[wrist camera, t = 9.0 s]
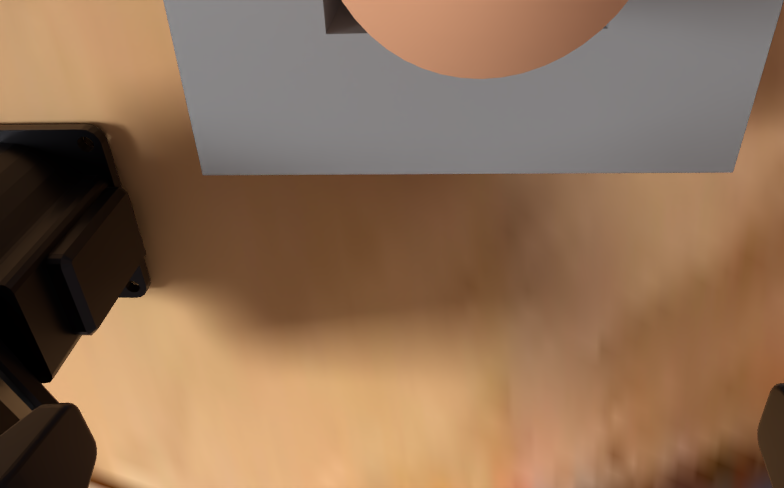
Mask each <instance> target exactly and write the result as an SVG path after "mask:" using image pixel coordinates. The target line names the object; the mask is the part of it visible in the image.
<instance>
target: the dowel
mask: <svg viewBox="0 0 784 488" xmlns="http://www.w3.org/2000/svg"><path fill="white" fill-rule="evenodd" d="M627 1H628V0H342V2H343V3H344V5H345V6H346V7H347V9H348V10H349V12H350V13H351V14H352V16H353V17H354V19H355V20H356V21H357V22H358V23H359V24H360V25H361V26H362V27H363V28H364V29H365V30H366V32H367V33H368V34H369V35H370V36H371V37H373V38H374V39H375V40H376V41H378V42H379V43H380V44H381V45H382V46H384V47H385V48H386V49H387V50H389V51H391V52H392V53H394V54H395V55H397V56H399V57H400V58H402V59H403V60H405V61H407V62H410V63H412V64H414V65H416V66H418V67H420V68H423V69H426V70H429V71H432V72H435V73H438V74H442V75H447V76H453V77H459V78H471V79H488V78H501V77H507V76H512V75H517V74H521V73H525V72H528V71H531V70H534V69H537V68H540V67H543V66H545V65H547V64H549V63H552V62H554V61H556V60H558V59H560V58H562V57H564V56H566V55H567V54H569V53H570V52H572V51H574V50H575V49H577V48H578V47H580V46H582V45H583V44H584V43H586V42H587V41H588V40H589V39H591V38H592V37H593V36H594V35H596V34H597V33H598V32H599V31H601V30H602V29H603V28H604V27H605V26H606V25H607V24H608V23H609V22H610V21H611V20H612V19H613V18H614V17H615V16H616V15H617V14H618V13H619V11H620V10H621V9H622V8H623V6H624V5H625V4H626V3H627Z"/></svg>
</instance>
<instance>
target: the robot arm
mask: <svg viewBox="0 0 784 488" xmlns="http://www.w3.org/2000/svg"><path fill="white" fill-rule="evenodd" d="M83 137H87V138H89V139H90V140H91V141H92V142H93V144H94V146H89V145H88V144H87V143H85V141H84V139H83ZM145 255H146V252H145V248H144V245H143V242H142V238H141V235H140V232H139V228H138V225H137V222H136V219H135V215H134V212H133V209H132V205H131V202H130V199H129V196H128V193H127V192H126V191H125V190H124V189H123V188H122V186H121V183H120V179H119V176H118V173H117V170H116V166H115V163H114V160H113V157H112V153H111V150H110V147H109V144H108V140H107V138H106V136H105V134H104V133H103V132H102V131H101V130H100V129H99V128H98V127H96V126H94V125H90V124H37V125H0V488H88V487H89V483H90V479H91V476H92V472H93V469H94V465H95V461H96V456H97V447H96V442H95V440H94V438H93V436H92V434H91V432H90V430H89V428H88V426H87V424H86V422H85V420H84V418H83V416H82V414H81V412H80V410H79V409H78V407H77V406H75V405H74V404H72V403H59V402H58V401H57V400H56V399H55V398H54V397H53V396H52V394H51V393H50V392H49V391H48V390H47V389H46V388H45V387H44V386H43V385H42V384H41V383H48V382H51V380H52V379H53V378H54V376H55V375H56V373H57V372H58V370H59V369H60V367H61V366H62V364H63V363H64V361H65V360H66V358H67V357H68V355H69V354H70V352H71V351H72V349H73V348H74V346H75V345H76V343H77V342H78V340H79V339H80V337H81V336H82V335H92V334H93V333H94V332H95V331H96V330H97V329H98V328H99V327H100V325H101V323H102V322H103V320H104V319H105V317H106V316H107V314H108V313H109V311H110V309H111V308H112V306H113V305H114V303H115V302H116V300H117V299H118V297H129V298H136V297H141V296H143V295H145V293H146V291H147V290H148V288H149V286H150V284H151V282H150V277H149V274H148V270H147V267H146V264H145V261H144V257H145ZM131 281H134V282H136V283H138V285H135V284H133V283H132V282H131ZM757 435H758V443H759V447H760V450H761V453H762V457H763V460H764V463H765V466H766V469H767V472H768V475H769V478H770V481H771V484H772V487H773V488H784V383H780V384H776V385H775V386H774V387H773V388H772V389H771V391H770V394H769V397H768V400H767V402H766V405H765V408H764V411H763V414H762V417H761V420H760V423H759V426H758V433H757Z"/></svg>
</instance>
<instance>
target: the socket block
mask: <svg viewBox="0 0 784 488" xmlns="http://www.w3.org/2000/svg"><path fill="white" fill-rule="evenodd" d="M163 1H164V5H165V10H166V14H167V18H168V23H169V27H170V32H171V36H172V41H173V45H174V50H175V54H176V58H177V63H178V67H179V72H180V76H181V81H182V85H183V90H184V94H185V99H186V103H187V107H188V112H189V116H190V121H191V125H192V130H193V134H194V139H195V143H196V147H197V152H198V156H199V161H200V165H201V170H202V174H203V175H346V174H531V173H715V172H733V170H734V167H735V164H736V160H737V157H738V153H739V150H740V147H741V143H742V140H743V136H744V133H745V130H746V126H747V123H748V120H749V116H750V113H751V109H752V106H753V103H754V99H755V96H756V92H757V89H758V86H759V82H760V79H761V75H762V72H763V69H764V65H765V62H766V59H767V55H768V52H769V48H770V45H771V42H772V38H773V35H774V31H775V28H776V25H777V21H778V18H779V15H780V11H781V8H782V4H783V1H784V0H628V1H627V3H626V4H625V5H624V6H623V8H622V9H621V10H620V11H619V13H618V14H617V15H616V16H615V17H614V18H613V19H612V20H611V21H610V22H609V23H608V24H607V25H606V26H605V27H604V28H603V29H602V30H601V31H599V32H598V33H597V34H596V35H594V36H593V37H592V38H591V39H589V40H588V41H587V42H586V43H584V44H583V45H582V46H580V47H578V48H577V49H575V50H574V51H572V52H570V53H569V54H567V55H566V56H564V57H562V58H560V59H558V60H556V61H554V62H552V63H549V64H547V65H545V66H543V67H540V68H537V69H534V70H531V71H528V72H525V73H521V74H517V75H512V76H507V77H501V78H488V79H471V78H459V77H453V76H447V75H442V74H438V73H435V72H432V71H429V70H426V69H423V68H420V67H418V66H416V65H414V64H412V63H410V62H407V61H405V60H403V59H402V58H400V57H399V56H397V55H395V54H394V53H392V52H391V51H389V50H387V49H386V48H385V47H384V46H382V45H381V44H380V43H379V42H378V41H376V40H375V39H374V38H373V37H371V36H370V35H369V34H368V33H367V32H366V30H365V29H364V28H363V27H362V26H361V25H360V24H359V23H358V22H357V21H356V20H355V19H354V17H353V16H352V14H351V13H350V12H349V10H348V9H347V7H346V6H345V5H344V3H343V2H342V0H163Z"/></svg>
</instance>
